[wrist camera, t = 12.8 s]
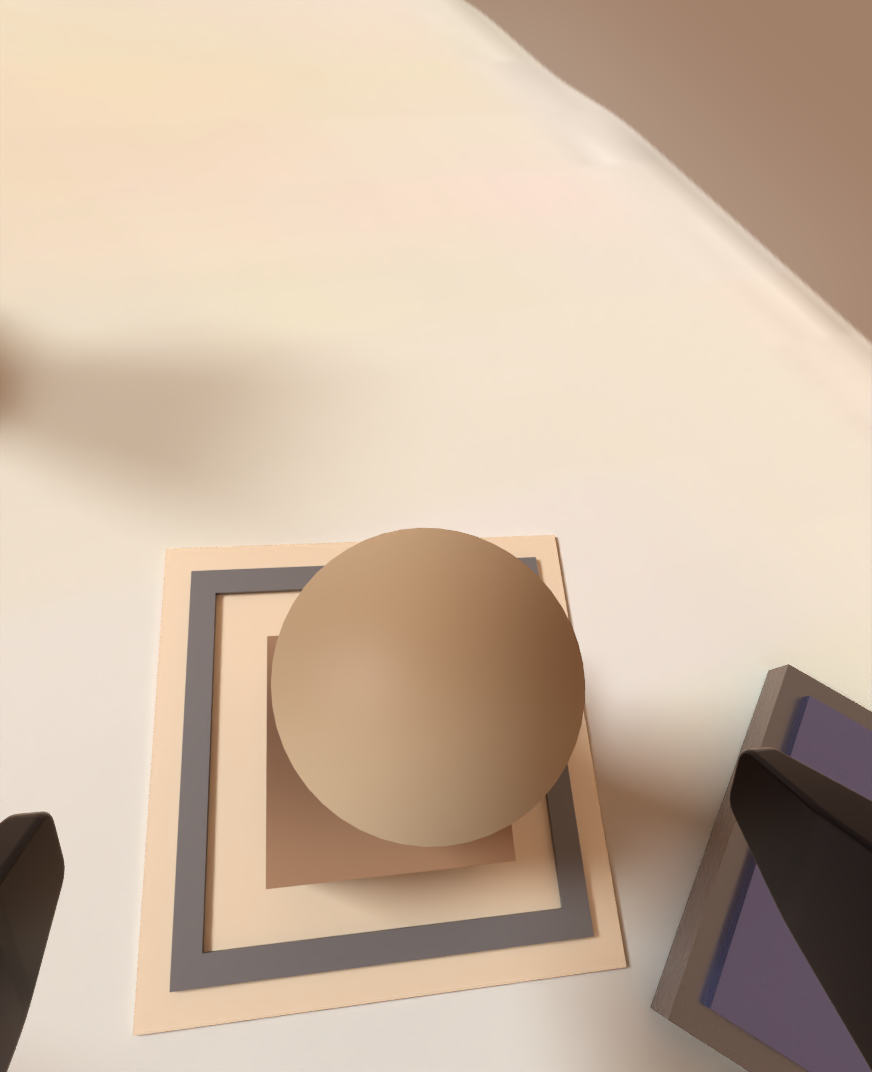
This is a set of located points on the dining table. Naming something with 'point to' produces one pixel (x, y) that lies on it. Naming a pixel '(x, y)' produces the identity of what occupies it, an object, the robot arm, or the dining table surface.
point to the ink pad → (765, 907)
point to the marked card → (342, 906)
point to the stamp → (414, 709)
